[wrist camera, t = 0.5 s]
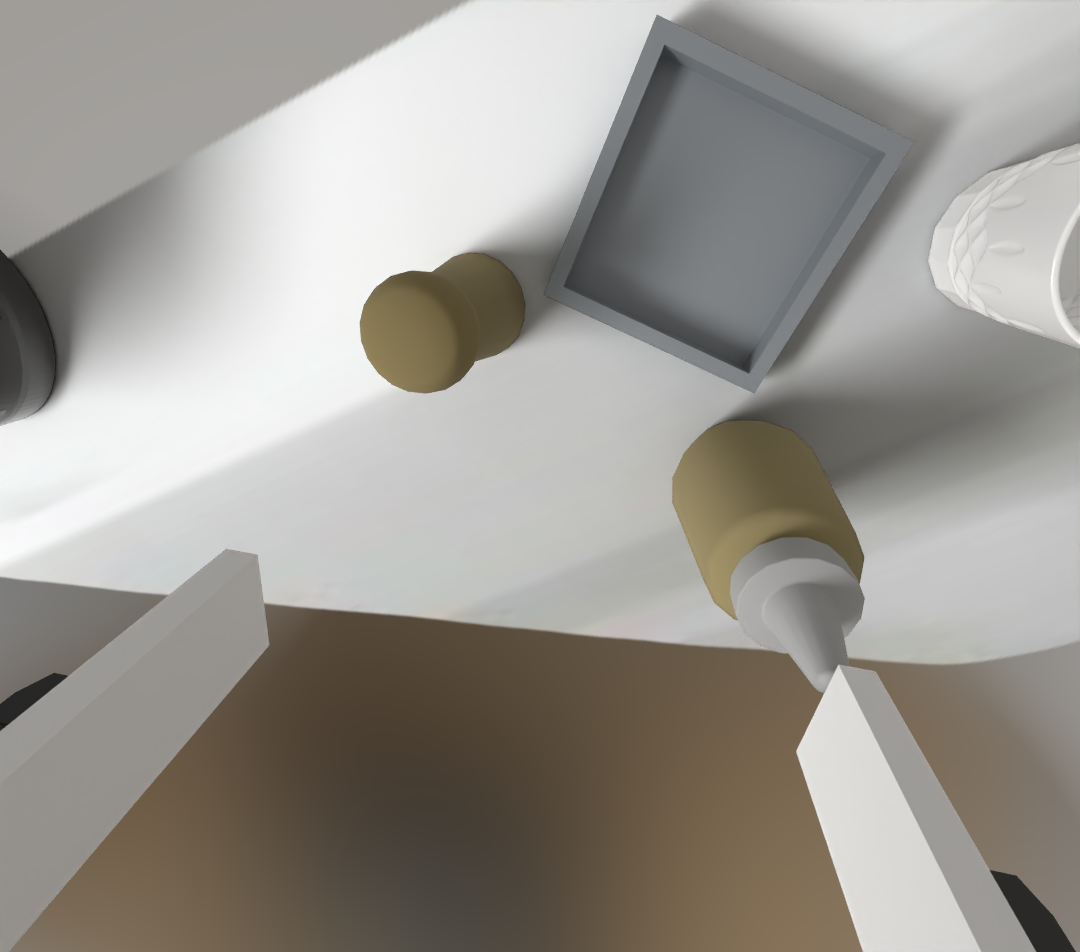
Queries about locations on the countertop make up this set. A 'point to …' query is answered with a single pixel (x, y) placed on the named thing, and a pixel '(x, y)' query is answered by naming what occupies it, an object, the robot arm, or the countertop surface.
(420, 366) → the cork
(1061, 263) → the white cup
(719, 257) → the tray
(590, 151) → the countertop surface
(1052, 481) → the countertop surface
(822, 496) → the squeeze bottle
